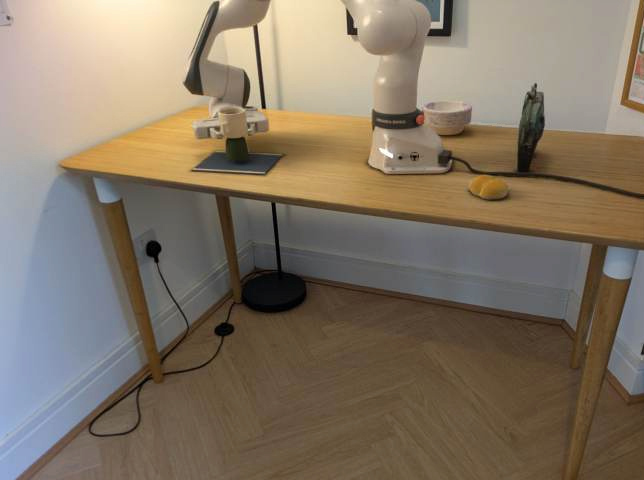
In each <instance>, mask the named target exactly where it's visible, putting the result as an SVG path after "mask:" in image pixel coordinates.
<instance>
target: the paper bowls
mask: <svg viewBox="0 0 644 480" xmlns="http://www.w3.org/2000/svg"><path fill="white" fill-rule="evenodd" d="M422 110H423V111H424V117H425V120H424V124H425V125H426V126H427V127H428V128H430V129H431V130H432V131H433V132H435V133H436V134H437V135H439V136H453V135H458V134H460V133H462V132H463V130H464V129H465V127H466V126H468V125H470V124H471V123H472V113H473V106H472V105H471V103H468V102H466V101H462V100H461V101H459V100H433V101H430V102H427V103H424V104H423V105H422V106H421V111H422Z"/></svg>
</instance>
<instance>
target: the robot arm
mask: <svg viewBox="0 0 644 480" xmlns="http://www.w3.org/2000/svg"><path fill="white" fill-rule="evenodd" d="M271 1H272V0H215V1H213V2H212V3H211V4H210V6H209V8H208V10H207V12H206V14H205V17H204V19H203V21H202V25H201V26H200V29H199V32H198V33H197V37H196V39H195V43H194V45H193V48H192V50H191V53H190V55H189V57H188V59H187V61H186V63H185V65H184V67H183V70H182V75H181V77H182V78H181V79H182V84H183V86H184V87H185V89H186V90H187V91H188V92H189V93H190V94H191V95H194V96H202V97H209V98H211V99H210V101H209V104H208V116H209V118H201V119H196V120H194V121H193V123H192V124H191V125H190V128H191V130H193V135H194V138H195V139H196V140H207V139H215V140H222V139H223V138H225V137H224V136H223V135H222V134H221V125H220V123H219V117H218V111H219V110H221V109H225V108H243V109H245V112H246V119H247V127H248V134H247V135H246V136H249V137H253V136H254V135H255V134H262V133H268V132H269V131H270V123H269V118H268V117H267V116H266V114H265V113H264V112H262V111H259V109H258V106H251V105H250V106H249V105H248V103H249V100H250V95H251V79H250V77H249V76H248V73H247V72H246V70H245V69H244V68H240V67H237V66H235V65H230V64H225V63H220V62H216V61H213V60H209V59H208V58H209V55H210V53H211V50H212V48H213V46H214V42H215V40H216V38H217V37H218V36H219V34H221V33H222V32H223V33H224V32H226V31H229V30H235V29H237V30H238V29H248V28H251V27H254V26H257V25H258V24H260V23H261V22H262V21H264V19H265V18H266V17H267V13H268V11H269V8H270V5H271ZM340 1H341V3H342V4H343V5H344V6H345V8H346V9H347V11H348V12H349V14H350V16H351V18H352V19H353V21H354V23H355V26H356V28H357V38H358V41H359V44H360V45H361V47H362V48H363V50H365V51H366V52H367V53H368V54H370V55H374V56H380V58H379V62H378V66H377V69H376V71H375V73H374V76H373V108H372V110H371V129H372V141H371V148H370V152H369V155H368V156H369V158H368V160H367V163H368V164H369V166H371V167H373V168H374V169H377V170H380V171H381V172H383V173H384V174H386V175H415V174H418V175H419V174H420V175H421V174H424V175H425V174H444V173H446V172H448V171H450V169H451V168H452V166H453V161H456V162H459V163H462V164H463V165H465V166H466V168H467V169H468V170H469V171H470V172H472V173H474V174H477V175H478V174H479V175H490V176H519V177H520V176H523V177H541V178H547V179H548V178H550V179H557V180H562V181H570V182H573V183H580V184H584V185H588V186H592V187H596V188H600V189H604V190H607V191H608V190H609V191H613V192H616V193H619V194H624V195H627V196H631V197H638V198H644V193H640V192H634V191H631V190H625V189H621V188H619V187H614V186H611V185H610V186H609V185H605V184H601V183H598V182H593V181H588V180H585V179H580V178H576V177H570V176H563V175H559V174H558V175H557V174H551V173H550V174H549V173H539V172H529V173H523V172H517V171H481V170H477V169H476V168H473V167H472V166H471V164H470V163H469V162H468V161H466V160H465V159H462V158H459V157H456V156H453V150H449V149H445V146H444V141H443V139H442V137H441V135H439V134H436V133H435V132H433V131H432V130H431V129H430V128H428V126H427V125H425V124H424V120H425V117H424V111H423V110H422V109H419V108H418V85H419V84H418V82H419V74H420V67H421V63H422V58H423V54H424V49H425V44H426V39H427V37H428V34H429V32H430V30H431V25H432V17H431V12H430V11H429V9H428V7H427V6H426V5H425V4H424V3H422V2H420V1H418V0H340ZM247 105H248V106H247ZM640 356H644V343H643V345H642V348H641V352H640Z"/></svg>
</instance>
